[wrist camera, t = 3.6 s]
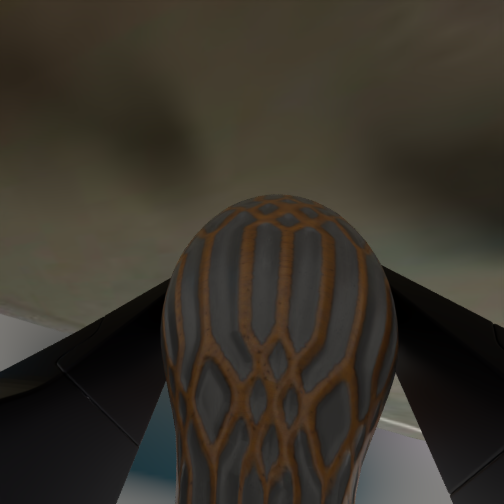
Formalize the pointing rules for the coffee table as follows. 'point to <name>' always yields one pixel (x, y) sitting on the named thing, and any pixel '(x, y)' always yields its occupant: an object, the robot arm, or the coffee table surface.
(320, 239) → the vase
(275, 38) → the coffee table surface
